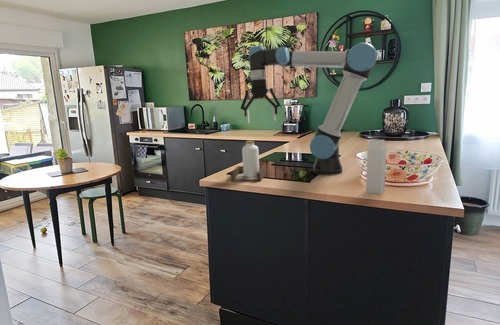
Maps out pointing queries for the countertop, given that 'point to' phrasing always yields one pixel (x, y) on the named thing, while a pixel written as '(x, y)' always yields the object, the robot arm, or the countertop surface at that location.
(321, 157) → the robot arm
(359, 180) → the countertop surface
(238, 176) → the brown tray
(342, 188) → the countertop surface
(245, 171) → the white bottle
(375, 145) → the milk
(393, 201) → the countertop surface
